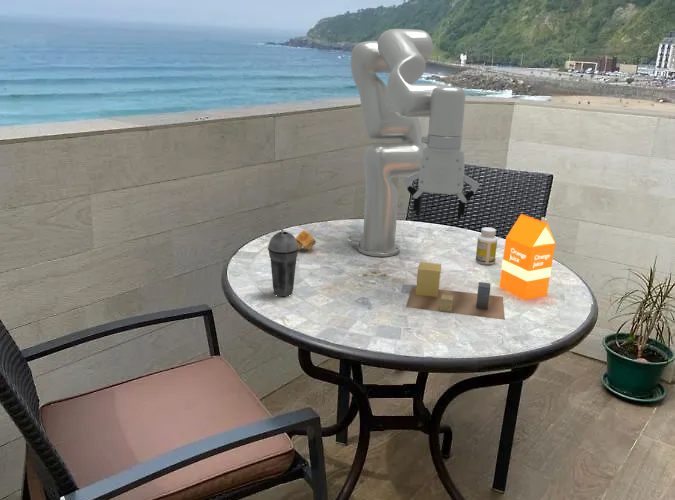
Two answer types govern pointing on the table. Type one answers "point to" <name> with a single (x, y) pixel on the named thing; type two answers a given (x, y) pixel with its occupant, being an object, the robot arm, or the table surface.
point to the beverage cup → (283, 261)
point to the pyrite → (305, 240)
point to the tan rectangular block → (428, 279)
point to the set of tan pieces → (374, 275)
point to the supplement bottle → (486, 246)
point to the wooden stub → (446, 303)
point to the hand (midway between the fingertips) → (438, 215)
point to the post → (483, 295)
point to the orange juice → (527, 258)
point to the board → (458, 303)
